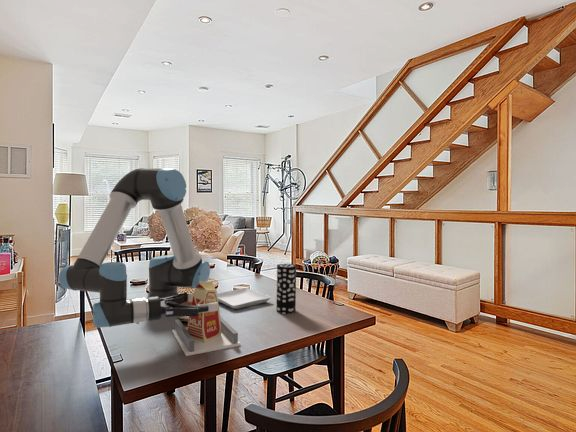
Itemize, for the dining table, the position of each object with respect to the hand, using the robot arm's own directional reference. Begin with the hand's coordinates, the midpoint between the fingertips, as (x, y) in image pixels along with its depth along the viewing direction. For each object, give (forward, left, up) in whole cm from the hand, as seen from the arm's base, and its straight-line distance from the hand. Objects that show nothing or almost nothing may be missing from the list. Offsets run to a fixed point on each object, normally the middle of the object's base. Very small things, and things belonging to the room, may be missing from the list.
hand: (211, 301), depth 129 cm
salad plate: (-36, +25, -14) cm, 46 cm away
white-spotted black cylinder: (-15, +38, -13) cm, 43 cm away
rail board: (0, -2, -13) cm, 13 cm away
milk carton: (-1, -2, -12) cm, 13 cm away
